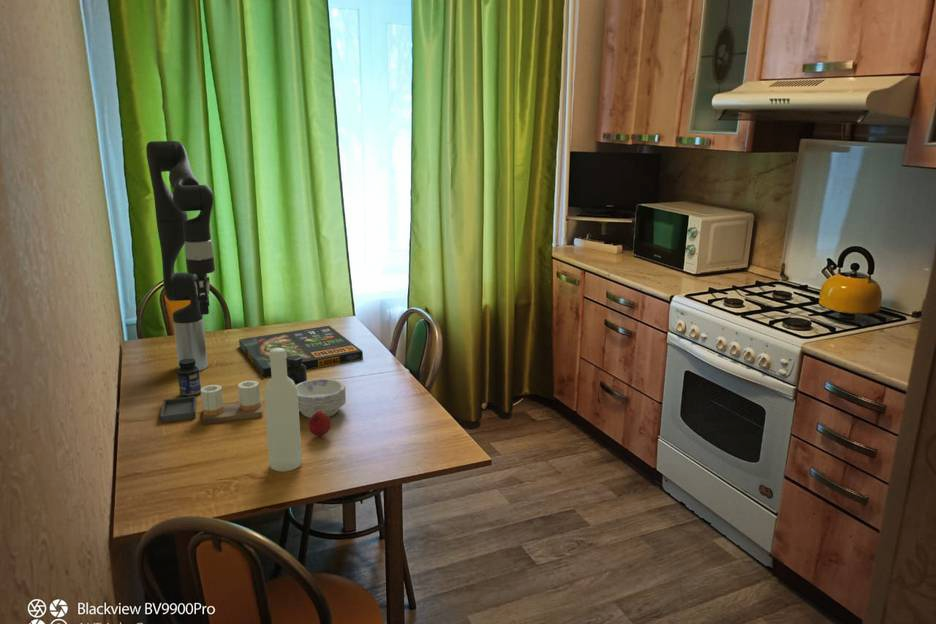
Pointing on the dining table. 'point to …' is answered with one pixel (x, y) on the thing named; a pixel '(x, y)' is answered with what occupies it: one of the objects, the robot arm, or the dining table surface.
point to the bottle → (282, 416)
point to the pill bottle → (188, 378)
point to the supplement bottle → (296, 369)
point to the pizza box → (302, 348)
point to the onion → (319, 424)
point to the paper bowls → (320, 396)
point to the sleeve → (212, 399)
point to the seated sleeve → (249, 395)
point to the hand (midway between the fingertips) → (205, 310)
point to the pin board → (231, 414)
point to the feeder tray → (178, 409)
